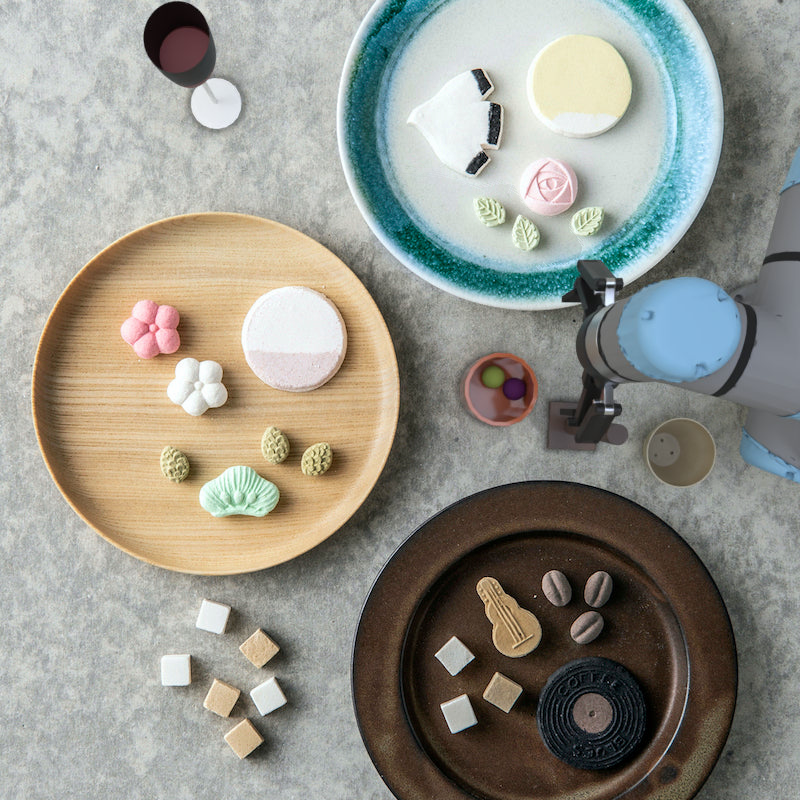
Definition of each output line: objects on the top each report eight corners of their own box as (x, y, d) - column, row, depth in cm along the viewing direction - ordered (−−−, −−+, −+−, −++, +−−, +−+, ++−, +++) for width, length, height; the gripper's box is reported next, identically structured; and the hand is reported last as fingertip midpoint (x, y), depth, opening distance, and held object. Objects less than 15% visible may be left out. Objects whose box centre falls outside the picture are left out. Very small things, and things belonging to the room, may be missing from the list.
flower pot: (687, 487, 108) (709, 494, 101) (623, 474, 108) (640, 480, 101) (701, 423, 108) (723, 425, 101) (637, 410, 108) (654, 411, 101)
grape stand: (595, 403, 108) (647, 406, 86) (593, 449, 108) (645, 464, 86) (549, 401, 108) (589, 404, 86) (547, 448, 108) (587, 462, 86)
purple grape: (500, 378, 107) (523, 380, 108) (499, 401, 107) (522, 402, 107) (506, 374, 104) (529, 376, 104) (504, 397, 103) (527, 399, 104)
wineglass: (248, 81, 107) (216, 9, 87) (235, 138, 107) (200, 79, 87) (196, 68, 106) (152, -7, 86) (183, 125, 106) (136, 64, 86)
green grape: (503, 364, 107) (484, 359, 105) (512, 375, 104) (493, 370, 103) (492, 383, 108) (474, 378, 107) (501, 395, 106) (482, 390, 104)
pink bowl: (528, 357, 108) (539, 354, 100) (525, 424, 108) (536, 427, 100) (460, 354, 108) (466, 351, 100) (458, 422, 108) (463, 424, 100)
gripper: (664, 479, 66) (601, 458, 87) (668, 206, 65) (604, 252, 87) (582, 478, 66) (539, 458, 87) (586, 205, 65) (542, 252, 87)
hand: (571, 355), depth 87 cm, fingers open, 13 cm apart
